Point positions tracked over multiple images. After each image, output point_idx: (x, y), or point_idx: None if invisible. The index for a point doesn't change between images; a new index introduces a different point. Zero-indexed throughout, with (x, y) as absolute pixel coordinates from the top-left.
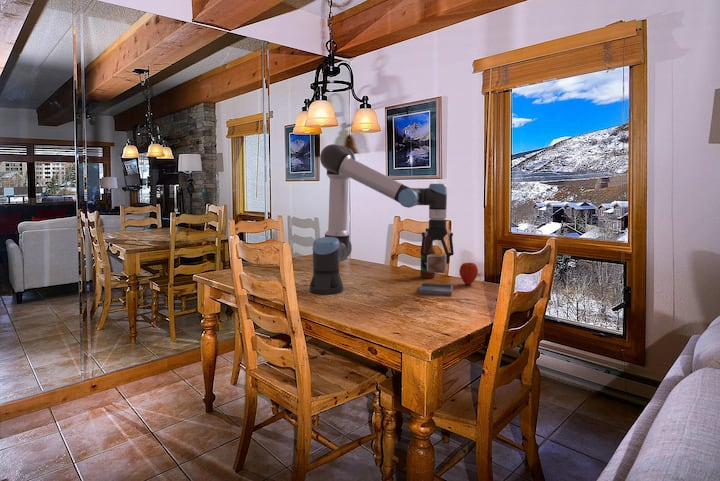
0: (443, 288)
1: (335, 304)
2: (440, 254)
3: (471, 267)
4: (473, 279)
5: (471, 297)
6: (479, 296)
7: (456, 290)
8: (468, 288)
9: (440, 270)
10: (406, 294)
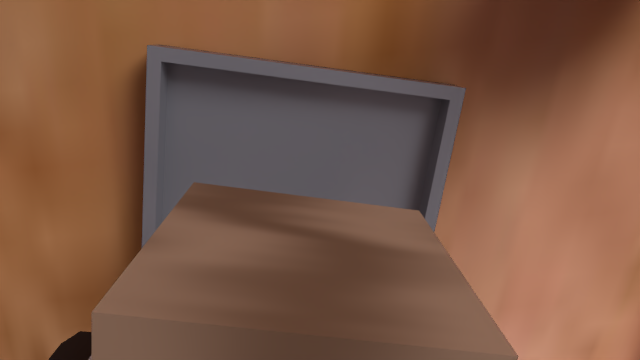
0: (363, 157)
1: None
2: (390, 340)
3: None
4: None
5: (536, 356)
6: (602, 326)
7: (472, 164)
8: (599, 77)
9: None
10: (56, 331)
